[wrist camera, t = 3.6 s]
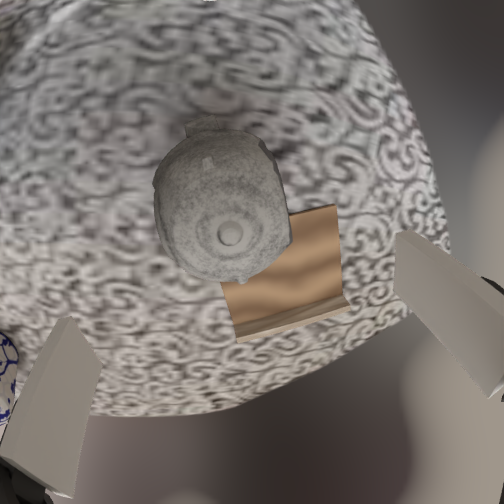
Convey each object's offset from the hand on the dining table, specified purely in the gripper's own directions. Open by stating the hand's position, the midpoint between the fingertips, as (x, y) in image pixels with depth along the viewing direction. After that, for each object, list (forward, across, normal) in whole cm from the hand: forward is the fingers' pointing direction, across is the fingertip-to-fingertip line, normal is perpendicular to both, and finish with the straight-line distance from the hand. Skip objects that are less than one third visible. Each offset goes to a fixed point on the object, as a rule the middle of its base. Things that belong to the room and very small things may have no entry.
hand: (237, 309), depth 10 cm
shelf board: (+31, +7, -18) cm, 36 cm away
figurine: (+31, 0, 0) cm, 31 cm away
